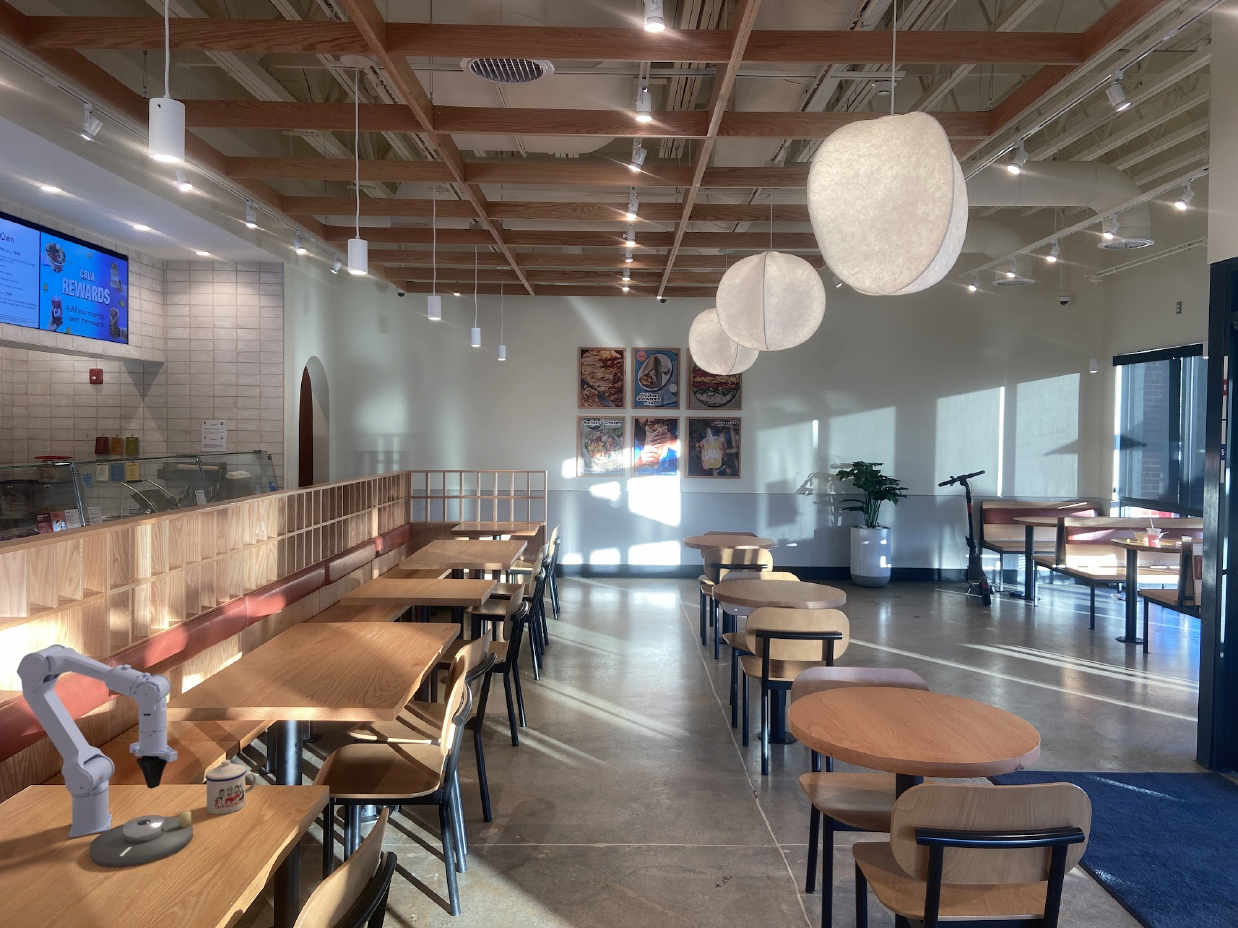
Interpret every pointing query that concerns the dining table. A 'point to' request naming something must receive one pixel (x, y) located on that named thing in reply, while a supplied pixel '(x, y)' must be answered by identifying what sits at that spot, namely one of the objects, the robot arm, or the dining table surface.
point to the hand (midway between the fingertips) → (153, 786)
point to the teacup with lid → (227, 788)
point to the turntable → (119, 854)
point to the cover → (143, 829)
